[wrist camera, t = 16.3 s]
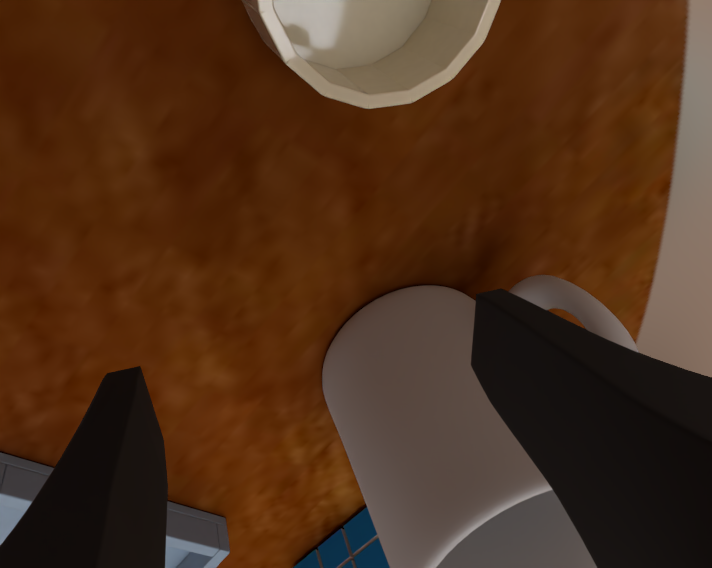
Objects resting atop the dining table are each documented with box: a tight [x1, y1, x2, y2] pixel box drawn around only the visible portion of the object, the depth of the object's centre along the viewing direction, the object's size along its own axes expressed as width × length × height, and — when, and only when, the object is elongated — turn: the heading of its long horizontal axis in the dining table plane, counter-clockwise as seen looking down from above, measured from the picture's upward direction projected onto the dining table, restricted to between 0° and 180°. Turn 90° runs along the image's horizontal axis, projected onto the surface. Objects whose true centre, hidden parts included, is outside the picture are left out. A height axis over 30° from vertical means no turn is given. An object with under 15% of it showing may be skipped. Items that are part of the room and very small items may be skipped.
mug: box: [322, 275, 639, 568], centre depth 22 cm, size 12×8×11 cm
